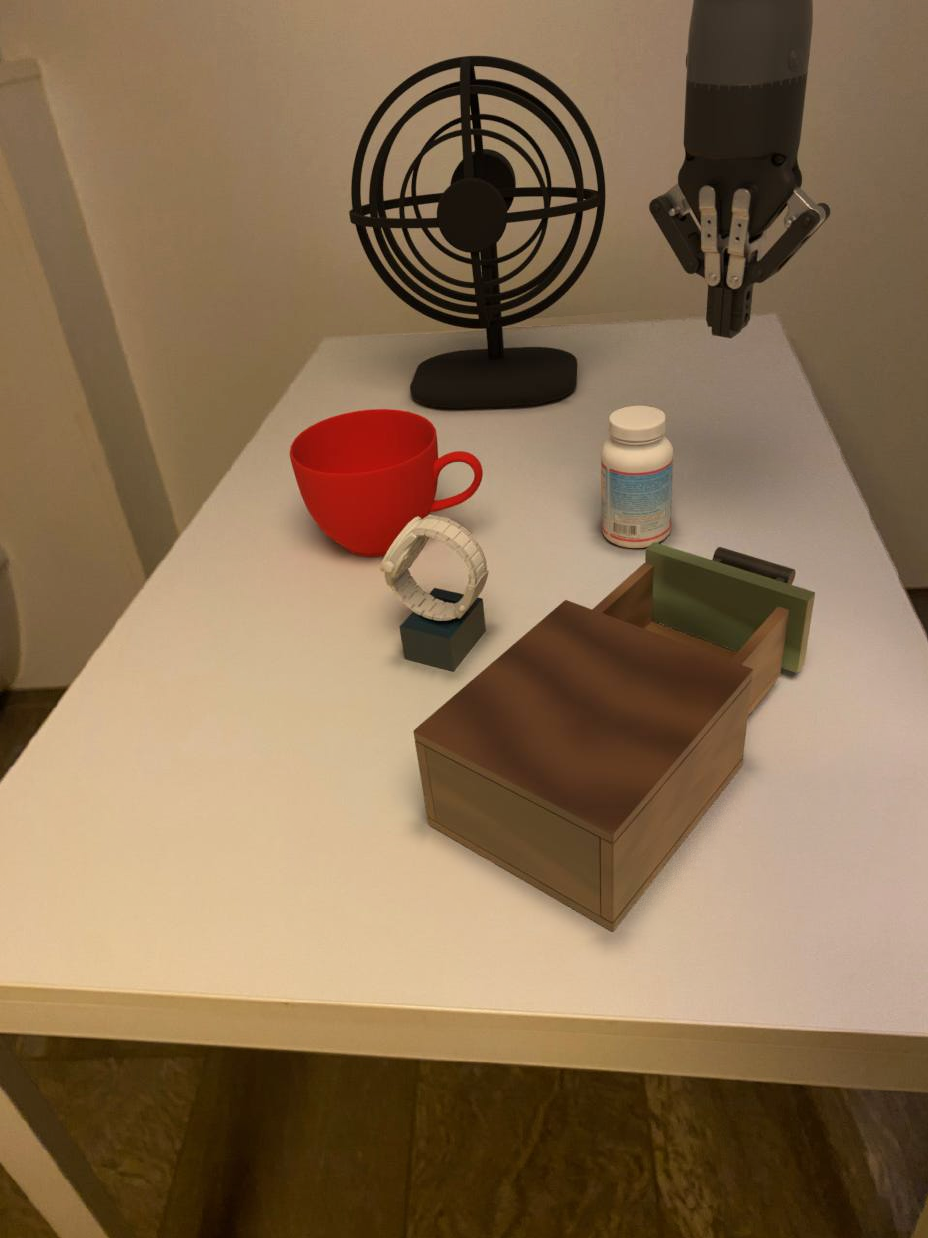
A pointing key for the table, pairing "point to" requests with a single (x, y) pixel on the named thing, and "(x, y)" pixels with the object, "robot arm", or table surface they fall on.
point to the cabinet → (585, 756)
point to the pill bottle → (636, 478)
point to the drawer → (720, 609)
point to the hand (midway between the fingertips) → (726, 333)
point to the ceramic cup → (373, 475)
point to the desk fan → (481, 238)
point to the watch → (437, 595)
